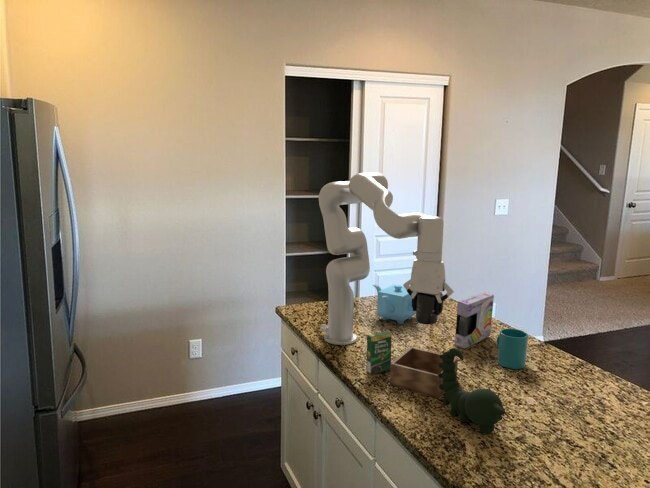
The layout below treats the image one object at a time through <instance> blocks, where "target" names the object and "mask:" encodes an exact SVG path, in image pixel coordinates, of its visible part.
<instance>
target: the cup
mask: <svg viewBox="0 0 650 488" xmlns="http://www.w3.org/2000/svg"><path fill="white" fill-rule="evenodd" d="M528 341H529V334H528V333H527V332H526V331H524V330H521V329H517V328H503V329H501V330H500V331H499V335H498V336H497V337H496V346H497V348H498V349H497V350H498V352H497V362H498V364H499V365H500V366H502V367H504V368H507V369H511V370H520V369H523V368H525V367H526V362H527V353H528Z"/></svg>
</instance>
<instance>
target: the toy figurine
mask: <svg viewBox="0 0 650 488" xmlns="http://www.w3.org/2000/svg"><path fill="white" fill-rule="evenodd" d="M440 354H441V355H440V359H442V361H443V362H442V363H439V367H440V368H442V370H443V372H442V373H439V374H438V377H439V378H442V379H443V383H441V384H440V385H439V389H441V390H443V389H444V391H445V397H444V398H443V399H442V404H443V405H444V406H449V405H450V409H449V413H450V415H452V416H453V417H454V416H457V415H458V419H459V421H460V422H462V423H465V422H468V421H469V420H470V422H472V423H474V424H475V425H477V426H478V430H479V432H480V433H481V434H483V435H488V434H491V433H492V432H494V430H495V429H496V428H495V425H496V424H497V423H499V422H500V421H501V420H502V419H503V415H505V414H506V413H507V412H506V411H505V410H504V405H503V403H502V400H501V398H500V397H499V395H497V393H495V391H493V390H490V389H487V388H477V389H474V390H473V391H470V392H466V391H464V390H463V389H462V388H461V387H460V383H459V381H458V380H457V377H458V376H457V374H458V373H457V374H456V372H455V371H454V370H455V367H456V366H455V363H454V357H457V358H458V359H460V360H461V361H464V359H465V358H464V355H463V352H462V350H460V349H458V347H457V348H456V347H452V348H450V349H449V350H448V351H444V352H443V353H440ZM442 354H443V355H442Z"/></svg>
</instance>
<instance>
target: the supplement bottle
mask: <svg viewBox="0 0 650 488" xmlns="http://www.w3.org/2000/svg"><path fill="white" fill-rule="evenodd" d="M437 302H438V300H437V298H436V296H435V295H431V294H424V293H418V294H417V297H416V314H415V321H416V322H417V323H418V324H420V325H421V324H422V325H428V326H431V325H435V324H437V323H438V316H439V315H436V303H437Z"/></svg>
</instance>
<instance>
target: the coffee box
mask: <svg viewBox="0 0 650 488" xmlns="http://www.w3.org/2000/svg"><path fill="white" fill-rule="evenodd" d="M391 360H392V333H391V332H389V331H388V330H386V331H382V332H376V333H371V334H366V372H367V373H368V374H369V375H377V374H379V373H385V372H390V364H391V363H392V361H391Z"/></svg>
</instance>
